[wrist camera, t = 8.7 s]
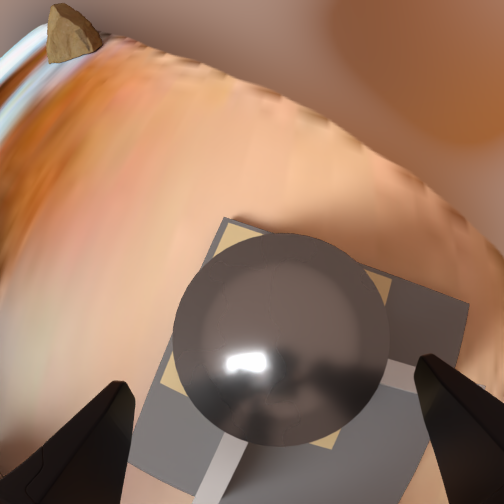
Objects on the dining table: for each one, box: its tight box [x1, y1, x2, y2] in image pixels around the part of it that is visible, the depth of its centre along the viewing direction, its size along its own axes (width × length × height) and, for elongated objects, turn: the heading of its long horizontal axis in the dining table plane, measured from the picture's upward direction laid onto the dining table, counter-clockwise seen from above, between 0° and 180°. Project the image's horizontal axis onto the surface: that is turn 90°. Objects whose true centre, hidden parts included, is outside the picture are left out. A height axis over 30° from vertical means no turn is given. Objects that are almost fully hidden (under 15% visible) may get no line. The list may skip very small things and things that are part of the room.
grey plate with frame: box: [128, 217, 486, 504], centre depth 15 cm, size 19×19×6 cm
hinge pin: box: [172, 233, 390, 447], centre depth 13 cm, size 5×5×12 cm
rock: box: [46, 3, 103, 64], centre depth 32 cm, size 11×9×10 cm
